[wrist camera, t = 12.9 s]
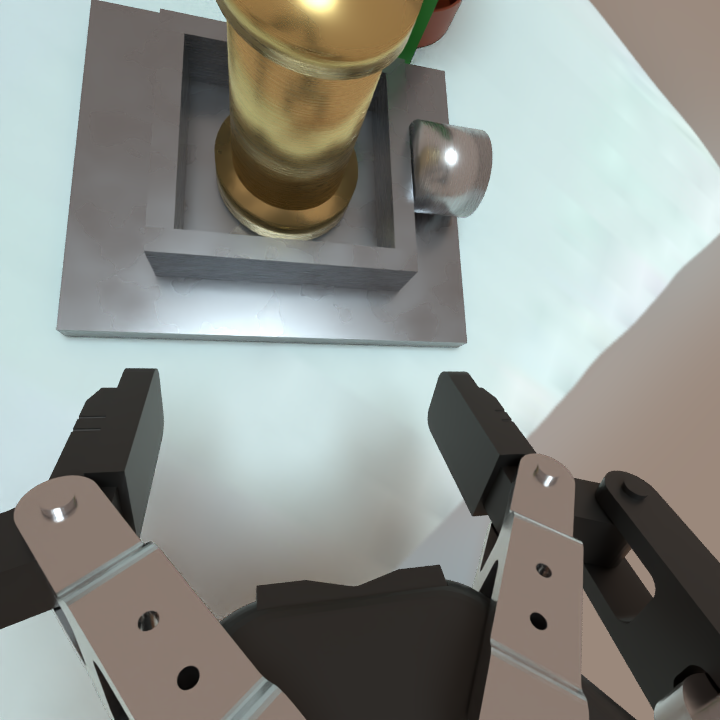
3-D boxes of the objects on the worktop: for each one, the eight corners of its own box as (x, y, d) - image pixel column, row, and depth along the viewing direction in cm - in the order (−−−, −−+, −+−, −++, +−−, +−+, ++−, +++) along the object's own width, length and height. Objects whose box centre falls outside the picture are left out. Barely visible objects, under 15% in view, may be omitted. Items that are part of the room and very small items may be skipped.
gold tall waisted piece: (214, 235, 20) (187, 28, 10) (218, 112, 21) (198, -176, 11) (352, 247, 21) (442, 79, 12) (348, 132, 23) (427, -105, 13)
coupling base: (65, 336, 18) (4, 295, 14) (97, 18, 21) (57, -104, 17) (457, 347, 23) (513, 320, 18) (437, 85, 26) (480, 3, 21)
